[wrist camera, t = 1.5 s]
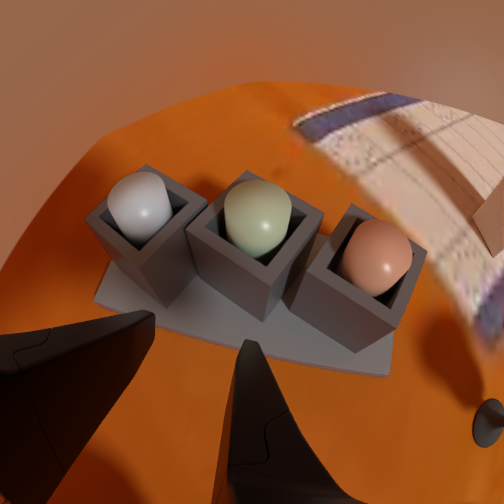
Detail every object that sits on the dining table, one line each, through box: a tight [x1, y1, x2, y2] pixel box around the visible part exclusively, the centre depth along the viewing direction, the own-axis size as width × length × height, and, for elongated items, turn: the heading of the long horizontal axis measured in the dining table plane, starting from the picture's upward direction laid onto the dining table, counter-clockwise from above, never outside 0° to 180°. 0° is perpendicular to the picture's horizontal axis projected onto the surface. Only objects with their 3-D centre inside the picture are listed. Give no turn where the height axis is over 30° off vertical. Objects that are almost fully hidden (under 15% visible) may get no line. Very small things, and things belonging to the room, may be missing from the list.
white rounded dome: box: [107, 172, 174, 251], centre depth 18 cm, size 4×4×4 cm
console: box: [84, 164, 427, 378], centre depth 21 cm, size 11×24×8 cm, turn 76°
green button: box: [224, 180, 292, 266], centre depth 18 cm, size 4×4×4 cm
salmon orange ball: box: [334, 219, 412, 300], centre depth 17 cm, size 4×4×4 cm
